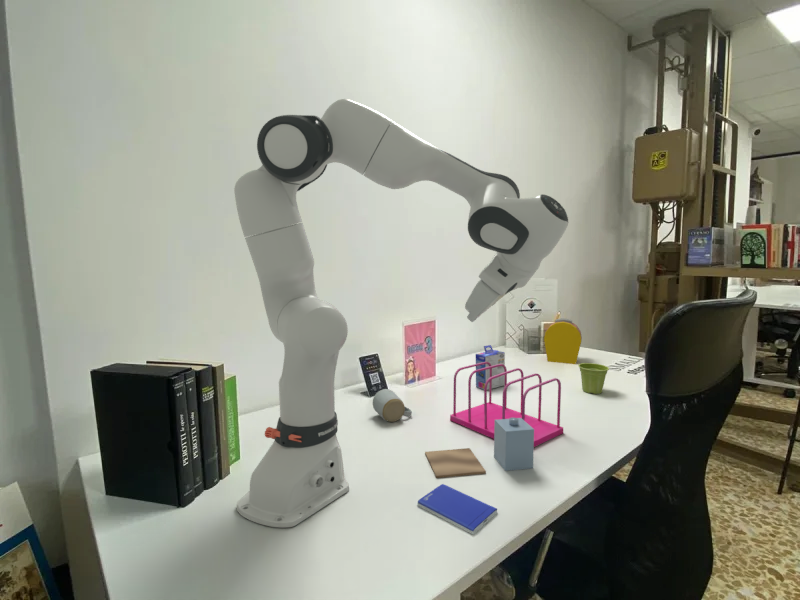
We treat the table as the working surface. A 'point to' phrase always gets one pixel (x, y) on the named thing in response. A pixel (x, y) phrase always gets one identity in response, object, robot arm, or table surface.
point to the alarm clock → (562, 341)
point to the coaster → (454, 463)
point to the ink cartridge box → (482, 376)
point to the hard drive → (457, 508)
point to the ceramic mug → (390, 406)
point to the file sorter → (488, 412)
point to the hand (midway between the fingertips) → (481, 310)
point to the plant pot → (593, 377)
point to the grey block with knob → (513, 444)
